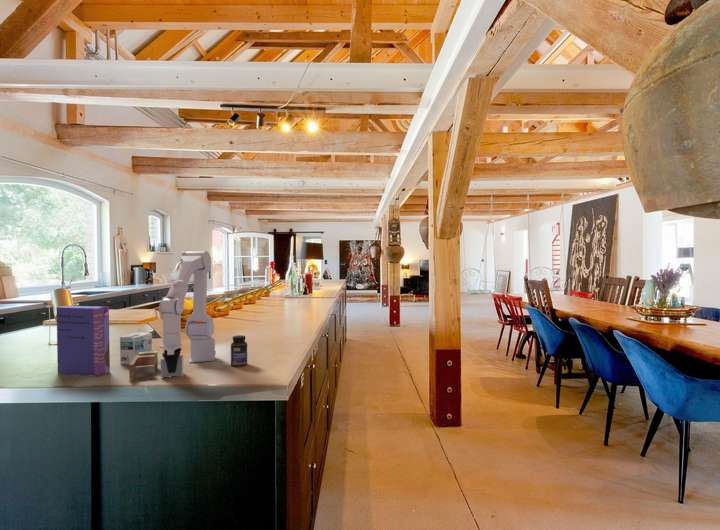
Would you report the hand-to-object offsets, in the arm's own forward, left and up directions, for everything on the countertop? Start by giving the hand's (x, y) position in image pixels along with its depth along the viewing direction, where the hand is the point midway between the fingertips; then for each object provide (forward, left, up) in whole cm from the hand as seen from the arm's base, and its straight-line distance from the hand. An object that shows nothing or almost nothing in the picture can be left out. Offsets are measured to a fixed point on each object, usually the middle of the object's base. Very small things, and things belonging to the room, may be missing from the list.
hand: (172, 370), depth 143 cm
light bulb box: (+15, -27, -2) cm, 31 cm away
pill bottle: (-23, -6, -2) cm, 24 cm away
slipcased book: (0, 0, -2) cm, 2 cm away
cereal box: (+30, -16, -2) cm, 34 cm away
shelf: (+10, -6, -2) cm, 12 cm away
